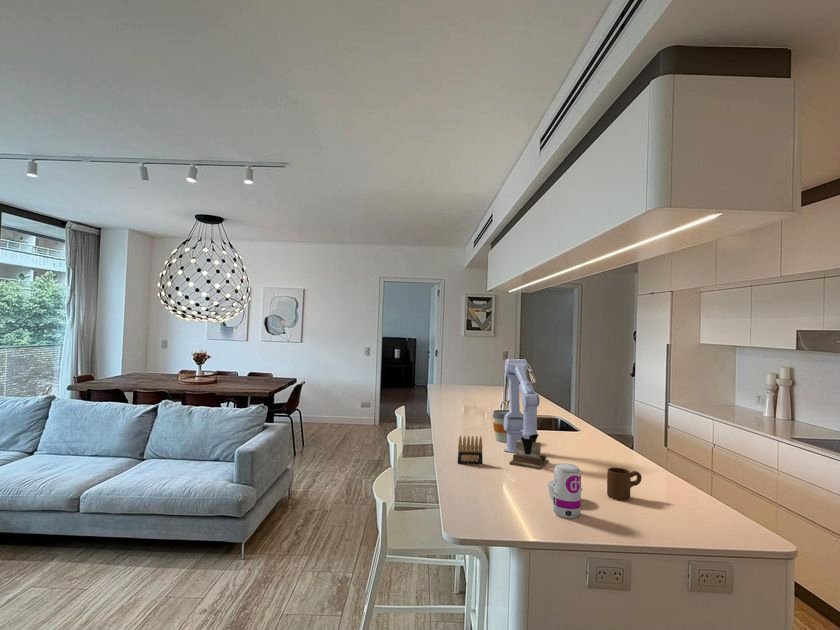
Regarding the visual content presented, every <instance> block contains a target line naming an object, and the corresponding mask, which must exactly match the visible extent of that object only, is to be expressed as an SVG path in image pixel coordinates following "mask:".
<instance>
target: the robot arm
mask: <svg viewBox="0 0 840 630" xmlns="http://www.w3.org/2000/svg"><path fill="white" fill-rule="evenodd" d="M528 364H529V363H528V361H527V360H526V358H522V359H521V358H519V359H518V358H516V359H515V358H514V359H513V358H506V360H505V363H504V374H505V377H507V378H508V395H509V396H508V398H509V402H508V403H509V412H508V413H507V414H506V415H505V416H504V429H505V431H507V443H506V448H505V449H503V451H504V452H508V453H514V454H516V442H517V441H518V440H519V441H522V443H523V445H524V451H525V454H528V455H530V454H531V449H532V444H533V442H537V439H538V437H539V433H538V429H537V426H538V421H537V420H538V407H539V405H540V396H539V393H537V392H536V391H535V389H534V387H533V384H532V382H531V381H530V380H528V379H529V378H528V376H527V371H528V366H529V365H528ZM520 394H521V405H522V411H523V413H522V412H521V410H520V409H521V407H520ZM510 417H517V418H510Z"/></svg>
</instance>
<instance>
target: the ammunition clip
mask: <svg viewBox="0 0 840 630" xmlns="http://www.w3.org/2000/svg"><path fill="white" fill-rule="evenodd" d="M470 439H471V440H470ZM457 446H458V447H457V465H479V464H482V465H483V463H484V462H483V438H482V436H481V435H480V436H479V438H478V435H476V437H475V439H474V435H472V436H471V438H470V435H468V436H467V439H466V436H465V435H463V438H462V436H461V435H459V438H458V445H457Z"/></svg>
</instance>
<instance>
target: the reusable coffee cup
mask: <svg viewBox="0 0 840 630" xmlns="http://www.w3.org/2000/svg"><path fill="white" fill-rule="evenodd" d="M509 411H510V409H509V410H508V409H496V410H495V409H494V410H493V411H492V412H493V413H492V417H493V423H492V424H493V425H492V426H493V432H494V434H495V441H496V442H498V443H504V444H505V443H506V444H507V431H505V429H504V416H505V415H506V414H507V413H508V412H509ZM510 418H518V417H510Z"/></svg>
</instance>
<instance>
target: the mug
mask: <svg viewBox="0 0 840 630" xmlns="http://www.w3.org/2000/svg"><path fill="white" fill-rule="evenodd" d="M606 474H607V475H606V495H607V497H608V498H609V499H611V498H613V499H612V500H614V499H617V500H616V501H620V500H626V501H629V500H630V498H631V488H633V487H635V486H638V485H639V484H640V483H641V482H642V479H643V478H642V477H643V476H642V474H641V473H640V472H639V471H637V470H636V471H635V470H632V471H630V470H628V469H625V468H621V467H609V468H607V473H606ZM634 477H636V479H635V480H631V478H634ZM628 499H629V500H628Z"/></svg>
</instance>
